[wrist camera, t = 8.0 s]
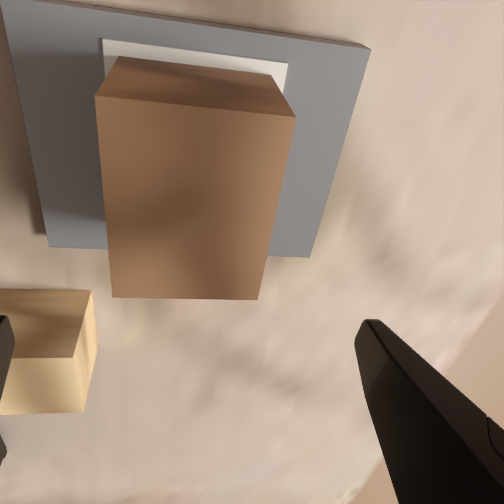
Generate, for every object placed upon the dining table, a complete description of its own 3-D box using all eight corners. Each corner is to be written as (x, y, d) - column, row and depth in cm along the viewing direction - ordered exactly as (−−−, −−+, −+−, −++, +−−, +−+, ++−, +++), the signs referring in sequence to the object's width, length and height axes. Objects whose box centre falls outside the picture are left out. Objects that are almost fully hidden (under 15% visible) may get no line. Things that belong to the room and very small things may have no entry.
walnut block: (127, 227, 20) (112, 297, 16) (118, 55, 15) (94, 95, 11) (245, 233, 21) (257, 300, 17) (271, 74, 16) (296, 117, 12)
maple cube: (18, 343, 26) (-12, 415, 22) (0, 287, 23) (-39, 358, 19) (98, 343, 27) (83, 412, 23) (91, 289, 24) (72, 357, 20)
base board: (54, 235, 21) (48, 249, 20) (8, -8, 15) (-4, -4, 14) (305, 247, 24) (310, 259, 23) (362, 44, 17) (372, 50, 16)
